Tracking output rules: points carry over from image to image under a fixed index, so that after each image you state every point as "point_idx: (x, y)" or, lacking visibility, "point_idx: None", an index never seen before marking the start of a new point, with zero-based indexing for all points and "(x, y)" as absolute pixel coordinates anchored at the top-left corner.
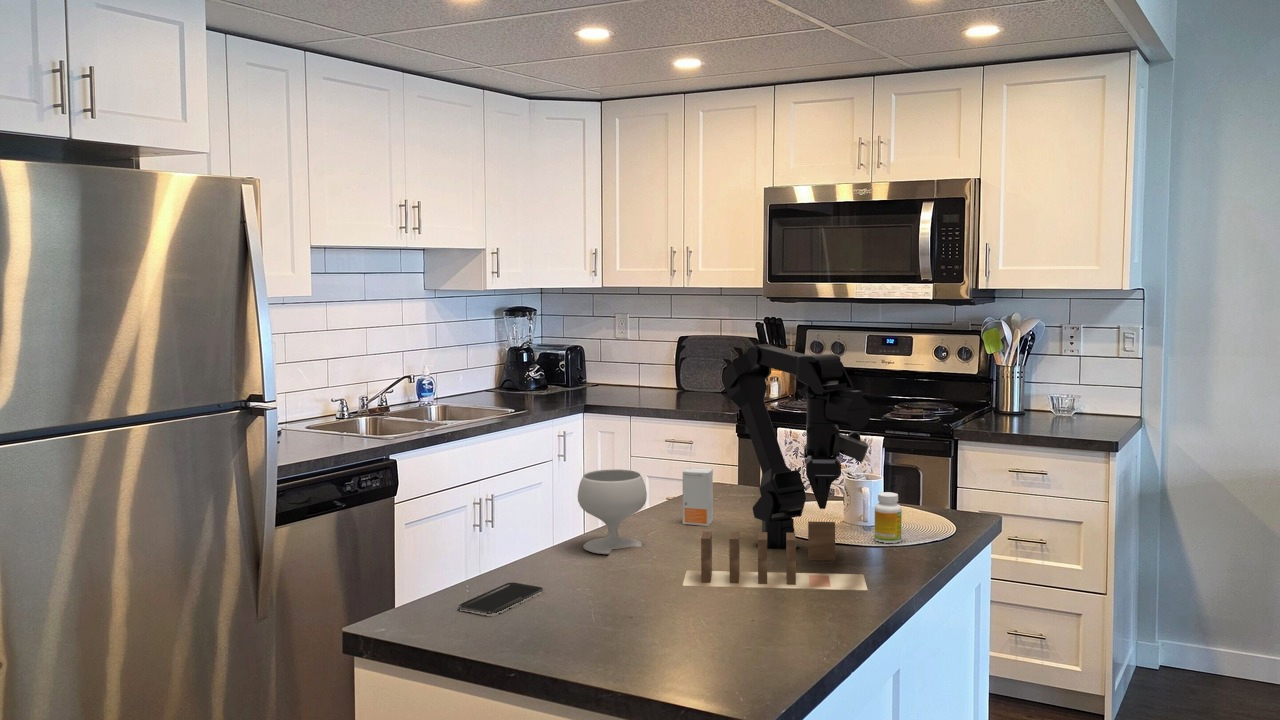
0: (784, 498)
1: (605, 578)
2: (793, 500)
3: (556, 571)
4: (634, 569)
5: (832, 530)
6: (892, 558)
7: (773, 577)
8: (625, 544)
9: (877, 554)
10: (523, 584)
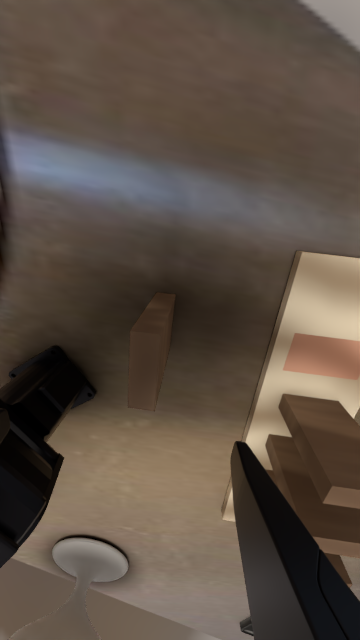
0: (19, 504)
1: (222, 571)
2: (2, 466)
3: (190, 598)
4: (186, 549)
5: (163, 333)
6: (110, 120)
7: (283, 427)
8: (97, 559)
9: (75, 162)
10: (249, 625)
